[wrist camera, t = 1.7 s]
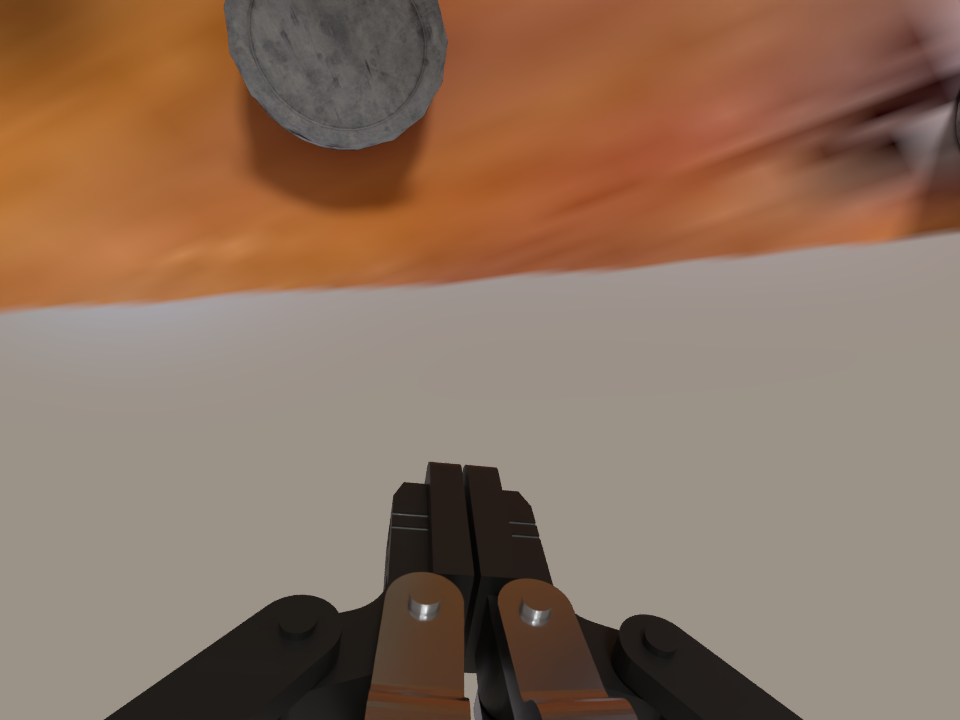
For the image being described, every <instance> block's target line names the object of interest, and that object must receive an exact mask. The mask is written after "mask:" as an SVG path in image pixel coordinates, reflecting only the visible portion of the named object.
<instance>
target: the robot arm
mask: <svg viewBox="0 0 960 720" xmlns="http://www.w3.org/2000/svg"><path fill="white" fill-rule="evenodd" d="M956 127H957V138H958V142H959V145H960V100H959V104H958V111H957V118H956ZM464 673H477V683H478V689H477V694H476V698H475V703H474V718H475V720H803V719H801V718H800V717H799V716H798V715H796V714H795V713H793V712H792V711H791V710H789V709H788V708H787V707H785V706H784V705H783V704H781V703H780V702H778V701H777V700H776V699H774V698H773V697H772V696H771V695H769V694H768V693H766V692H765V691H764V690H762V689H761V688H760V687H758V686H757V685H756V684H754V683H753V682H752V681H750V680H749V679H748V678H746V677H745V676H744V675H742V674H741V673H740V672H738V671H737V670H736V669H734V668H733V667H731V666H730V665H729V664H727V663H726V662H725V661H723V660H722V659H721V658H719V657H718V656H717V655H715V654H714V653H713V652H711V651H710V650H709V649H707V648H706V647H704V646H703V645H702V644H700V643H699V642H698V641H696V640H695V639H694V638H692V637H691V636H690V635H688V634H687V633H686V632H684V631H683V630H682V629H680V628H679V627H677V626H676V625H674V624H673V623H671V622H669V621H667V620H665V619H663V618H660V617H656V616H653V615H634V616H632V617H629V618H628V619H626V620H625V621H624V622H623V623H622V625H621V627H620V630H616V629H613V628H610V627H606V626H604V625H600V624H597V623H594V622H591V621H589V620H586V619H584V618H582V617H580V616H578V615H577V614H575V612H574V610H573V607H572V605H571V603H570V601H569V600H568V598H567V597H566V596H565V595H564V594H563V593H562V592H561V591H560V590H559V589H557V588H556V587H554V586H553V583H552V580H551V576H550V573H549V569H548V565H547V562H546V558H545V555H544V551H543V547H542V544H541V540H540V539H539V533H538V529H537V526H535V519H534V515H533V512H532V508H531V506H530V505H529V504H528V502H527V501H526V500H525V499H524V498H523V497H522V496H521V494H520V493H519V492H517V491H506V490H505V491H504V490H502V487H501V482H500V477H499V473H498V469H497V468H495V467H484V466H473V465H465V466H464V468H463V472H462V468H461V465H460V464H449V463H436V462H429V463H428V466H427V472H426V479H425V484H419V483H406V482H404V483H403V484H402V485H401V487H400V488H399V489H398V490H397V492H396V493H395V494H394V496H393V503H392V510H391V518H390V525H389V533H388V541H387V549H386V561H385V576H384V590H383V593H382V594H381V595H380V596H379V597H378V598H377V599H376V600H374V601H373V602H371V603H370V604H368V605H366V606H364V607H362V608H359V609H355V610H351V611H346V612H342V613H338V611H337V610H336V608H335V607H334V606H333V605H331V604H330V603H329V602H327V601H326V600H324V599H321V598H318V597H315V596H310V595H293V596H288V597H284V598H281V599H279V600H276V601H274V602H272V603H271V604H269V605H267V606H266V607H265V608H263V609H262V610H260V611H259V612H257V613H256V614H255V615H253V616H252V617H250V618H249V619H247V620H246V621H245V622H243V623H242V624H240V625H239V626H237V627H236V628H235V629H233V630H232V631H230V632H229V633H228V634H226V635H225V636H223V637H222V638H220V639H219V640H217V641H216V642H214V643H213V644H212V645H210V646H209V647H207V648H206V649H204V650H203V651H202V652H200V653H199V654H197V655H196V656H194V657H193V658H192V659H190V660H189V661H187V662H186V663H184V664H183V665H182V666H180V667H179V668H177V669H176V670H174V671H173V672H172V673H170V674H169V675H167V676H166V677H164V678H163V679H162V680H160V681H159V682H157V683H156V684H154V685H153V686H152V687H150V688H149V689H147V690H146V691H145V692H143V693H141V694H140V695H139V696H137V697H136V698H134V699H133V700H131V701H130V702H129V703H127V704H126V705H124V706H123V707H121V708H120V709H119V710H117V711H116V712H114V713H113V714H111V715H110V716H109V717H107V718H106V719H104V720H471V716H470V701H469V699H468V698H465V697H464Z"/></svg>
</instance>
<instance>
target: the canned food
mask: <svg viewBox="0 0 960 720" xmlns="http://www.w3.org/2000/svg"><path fill="white" fill-rule="evenodd" d="M224 11H225V18H226V25H227V32H228V42H229V52H230V55H231V57H232V58H233V60H234V62H235V64H236V66H237V68H238V70H239V71H240V73H241V75H242V77H243V79H244V82H245V84H246V86H247V88H248V90H249V92H250V94H251V95H252V96H253V97H254V98H255V99H256V100H257V101H258V103H259V104H260V105H261V106H262V108H263V109H264V110H265V111H266V113H267V114H268V115H269V116H270V117H271V118H272V119H273V120H275V121H276V122H277V123H278V124H279V125H280V126H281V127H283V128H284V129H285V130H286V131H288V132H290V133H291V134H293V135H295V136H296V137H298V138H300V139H301V140H303V141H306V142H309V143H312V144H314V145H317V146H320V147H324V148H330V149H336V150H359V149H363V148H367V147H371V146H375V145H378V144H380V143H384V142H388V141H392V140H395V139H396V138H397V137H398V136H399V135H400V134H402V133H403V132H404V131H405V130H406V129H408V128H409V127H410V126H412V125H413V124H414V123H416V122H417V121H418V120H420V119H421V118H422V117H423V116H424V114H425V112H426V111H427V109H428V107H429V105H430V103H431V101H432V99H433V97H434V96H435V94H436V92H437V91H438V89H439V87H440V86H441V84H442V81H443V72H444V64H445V57H446V50H447V44H448V40H447V36H446V32H445V28H444V24H443V20H442V16H441V12H440V8H439V4H438V0H225V3H224Z"/></svg>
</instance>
